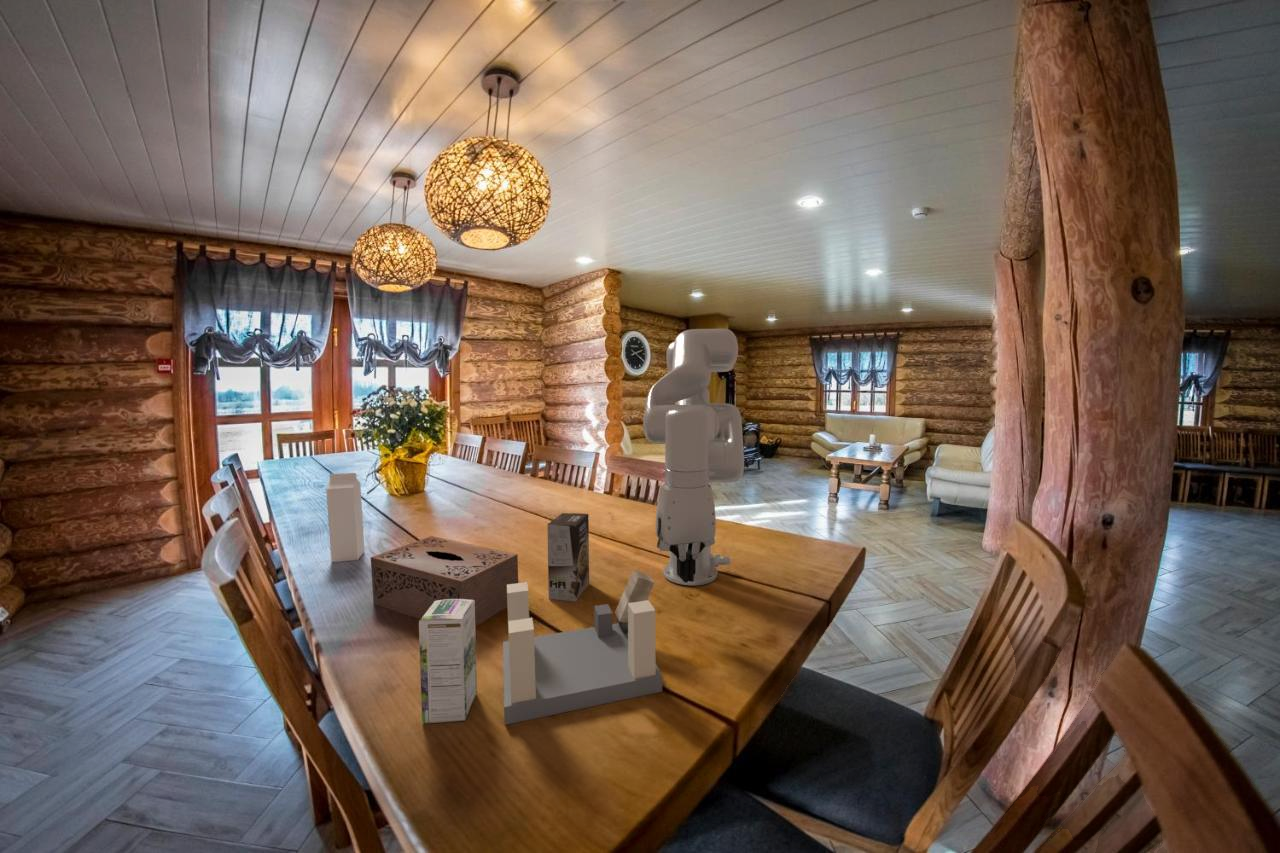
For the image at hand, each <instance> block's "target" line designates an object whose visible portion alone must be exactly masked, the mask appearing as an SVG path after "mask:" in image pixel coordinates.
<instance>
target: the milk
mask: <svg viewBox="0 0 1280 853" xmlns="http://www.w3.org/2000/svg"><path fill="white" fill-rule="evenodd" d="M328 481H329V482H328V484H327V486H326V488H325V490H326V492H325V493H326V504H327V506H326V507H327V517H328V518H327V520H328V531H329V535H328V536H329V545H330V546H329V547H330V560H331V563H338V562H348V561H349V562H350V561H358V560H359V559H360V558H361V557H362V556H363V554H364V553H365V552H366V550H365V537H364V536H365V534H364V523H363V522H364V520H363V506H362V490H361V482H360V481H359V479H358V478H357V473H355V472H348V473H346V472H345V473H331V474H330V475H329V480H328Z"/></svg>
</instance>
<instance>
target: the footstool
mask: <svg viewBox="0 0 1280 853" xmlns="http://www.w3.org/2000/svg"><path fill="white" fill-rule="evenodd" d="M529 598H530V597H529V586H528V582H527V581H525V582H518V583H516V584H508V585H507V606H508V607H507V627H508V628H507V630H508V633H507V634H508V636H507V637H508V640H507V641H502V650H503V651H502V652H503V653H502V657H503V658H502V659H503V672H502V673H503V712H504V714H503V715H504V726H506V725H511V724H516V723H520V722H525V721H526V722H527V721H530V720H535V719H540V718H543V717H545V718H546V717H549V716H553V715H558V714H563V713H567V712H572V711H577V710H582V709H586V708H591V707H595V706H596V707H597V706H600V705H606V704H610V703H615V702H618V701H619V702H620V701H624V700H629V699H634V698H639V697H643V696H648V695H653V694H658V693H662V692H663V674H662V673H661V671H660V669H659V667H658V665H657V663H656V609H655V607H654V606H653V605H652V603H651V602H650V600H648V599H647V601H640V602H633V603H628V633H624V632H623V631H622V630H621V628H620V626H619V624H618V622H616V623H613V611H612V609H611V608H610V606H609V605H610V604H608V603H607V604H600V605H594V608H593V609H594V610H593V611H594V612H593V613H594V614H593V615H594V627H588V628H587V627H586V628H580V629H574V630H567V631H561V632H555V633H549V634H544V635H537V636H536V635H535V627H534V621H533V617H530V606H529V605H530V604H529V603H530V600H529Z"/></svg>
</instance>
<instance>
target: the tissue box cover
mask: <svg viewBox="0 0 1280 853" xmlns="http://www.w3.org/2000/svg"><path fill="white" fill-rule="evenodd" d="M518 559H519V558H518V554H517V553H512V552H508V551H502V550H498V549H493V548H489V547H484V546H480V545H474V544H471V543H470V544H469V543H467V542H461V541H456V540H452V539H448V538H447V539H446V538H442V537H438V536H433V535H430V536H428V537H425V538H422V539H420V540H416V541H414V542H411V543H407V544H405V545H402V546H399V547H396V548H393V549H390V550H388V551H385V552H382V553H379V554H376V555H373V556H371V557H370V570H371V571H370V572H371V584H372V585H371V586H372V599H373V600H372V601H373V604H374V605H376V606H377V605H378V606H381V607H384V608H385V609H389V610H393V611H395V612H398V613H401V614H404V615H407V616H411V617H414V618H416V619H419V620H421V618H422V617H423V616H424V614H425V613H426V612H427V611H428V609H429V608H430V607H431V605H432V604H433V603H434V601H437V600H445V599H468V600H474V601H475V628H476V627H478V626H479V625H481V624H482V623H484V622H486V621H487V620H488V619H490V618H492V617H494V616H496V615H497V614H498V613H500V612H502V611H504V610H505V609H508V606H507V585H508V584H516V583H519V564H518V563H519V562H518V561H519V560H518Z"/></svg>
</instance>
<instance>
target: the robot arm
mask: <svg viewBox="0 0 1280 853" xmlns="http://www.w3.org/2000/svg"><path fill="white" fill-rule="evenodd" d="M665 354H666V366H667V373H666V374H664V375H663V376H662V377H661V378H660V379H658V381H656V382H655V383H654V384H653V385H652V387H651V388H650V390H649V391H648V394H647V396H646V400H645V405H644V406H645V407H644V414H643V424H642V426H643V427H642V430H643V432H644V436H645V438H646V440H648V441H649V442H651V443H652V444H657V445H664V446H665V448H664V449H665V450H664V451H665V452H664V453H665V454H664V457H665V458H664V465H665V466H664V467H665V469H664V474H665V475H664V479H665V480H664V482H665V483H664V484H662V485H660V487H659V492H658V497H657V504H656V514H655V536H657V538H658V540H657V544H656V548H657V549H658V550H659V551H662V552H669V562H668V563H666V564H665V565H664V566H663V569H662V575H663V577H664V578H665V579H666V580H667V581H669V582H672V583H675V584H676V585H681V586H703V585H708V584H710V583H712V582H714V581H715V580H716V579H717V578H718V569H717V568H718V567H719V566H726V565H731V558H730V556H729V555H722V556H721V555H720V554H719V553H715V554H712V546H713V545H714V544H716V540H715V536H716V532H717V531H716V529H717V526H716V525H717V523H716V521H717V520H716V519H717V518H716V508H715V507H716V506H715V499H714V493H713V489H712V488H713V487H712V485H711V484H709V483H719V484H720V483H723V484H724V483H725V484H726V483H727V484H729V483H730V484H731V483H736V482H738V481H740V480H741V478H743V475H744V470H745V454H744V438H743V425H742V424H743V423H742V422H743V421H742V416H741V412H740V410H739V408H738V407H737V406H736V405H734V404H731V403H725V402H722V403H720V402H718V403H717V402H716V403H715V402H710V395H711V394H710V390H709V388H708V387H709V385H710V382H711V378H712V376H711V375H712V374H711V373H721V372H722V373H724V372H726V373H727V372H729V371H732V370H733V368H734V366H735V364H736V363H737V361H738V360H737V359H738V354H739V344H738V339H737V336H736V335H735V333H734V332H733V331H732V330H730V329H729V328H728V329H727V328H694V329H693V328H692V329H691V328H690V329H686V330H684V331H682V332H680V333H679V334H678V335H677V336H676V337H675V339H674V341H672V342H671V343H670V344H669V345H668V346H667V349H666V353H665Z"/></svg>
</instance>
